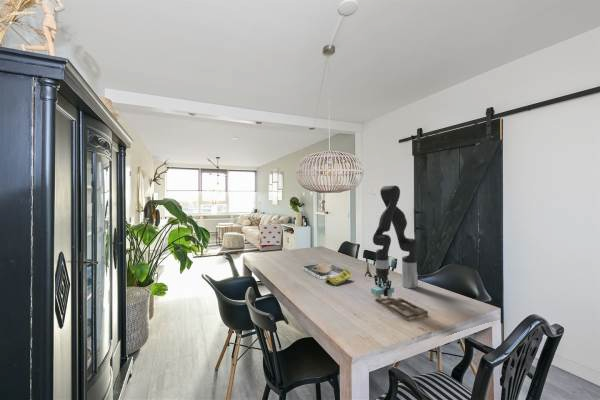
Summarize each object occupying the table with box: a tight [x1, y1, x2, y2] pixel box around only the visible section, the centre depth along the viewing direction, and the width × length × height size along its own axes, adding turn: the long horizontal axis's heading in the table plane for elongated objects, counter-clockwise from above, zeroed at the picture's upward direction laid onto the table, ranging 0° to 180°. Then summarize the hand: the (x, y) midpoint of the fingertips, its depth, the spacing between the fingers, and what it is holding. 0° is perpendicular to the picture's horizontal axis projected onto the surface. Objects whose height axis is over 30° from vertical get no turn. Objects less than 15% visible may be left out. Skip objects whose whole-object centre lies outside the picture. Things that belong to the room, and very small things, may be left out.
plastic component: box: [324, 268, 353, 286], centre depth 198 cm, size 20×7×10 cm
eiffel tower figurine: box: [364, 260, 373, 278], centre depth 211 cm, size 15×10×13 cm
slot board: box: [380, 297, 429, 321], centre depth 146 cm, size 14×20×2 cm
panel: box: [370, 285, 395, 300], centre depth 163 cm, size 13×5×6 cm, turn 110°
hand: (382, 294), depth 163 cm, fingers closed on panel, 5 cm apart
